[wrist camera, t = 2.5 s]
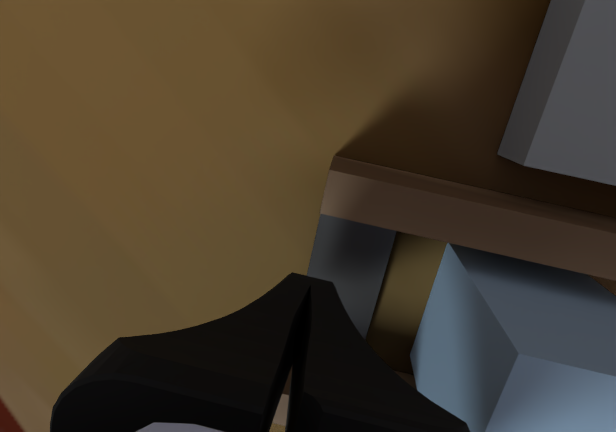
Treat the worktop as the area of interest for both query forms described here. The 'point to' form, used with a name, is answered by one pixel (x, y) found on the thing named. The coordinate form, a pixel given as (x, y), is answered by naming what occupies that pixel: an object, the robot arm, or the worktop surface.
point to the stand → (569, 95)
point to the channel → (438, 233)
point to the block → (517, 345)
